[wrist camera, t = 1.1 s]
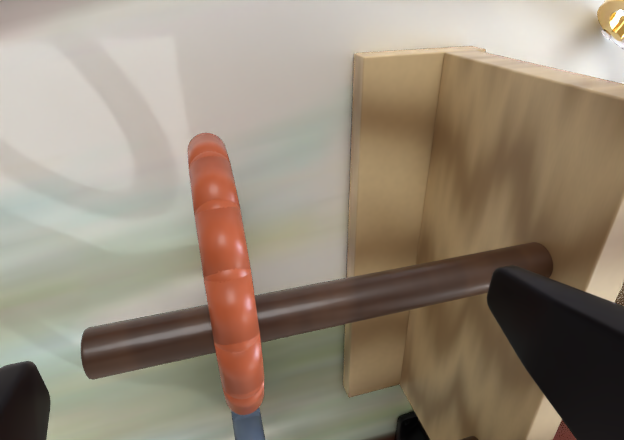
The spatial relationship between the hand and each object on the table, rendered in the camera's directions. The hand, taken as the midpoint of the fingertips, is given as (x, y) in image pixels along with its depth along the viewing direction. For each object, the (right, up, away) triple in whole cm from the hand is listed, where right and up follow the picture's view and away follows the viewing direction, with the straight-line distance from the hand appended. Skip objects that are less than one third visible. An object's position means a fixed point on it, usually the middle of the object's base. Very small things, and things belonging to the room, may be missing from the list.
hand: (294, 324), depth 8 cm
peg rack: (0, 0, +15) cm, 15 cm away
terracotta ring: (-3, 0, +7) cm, 7 cm away
